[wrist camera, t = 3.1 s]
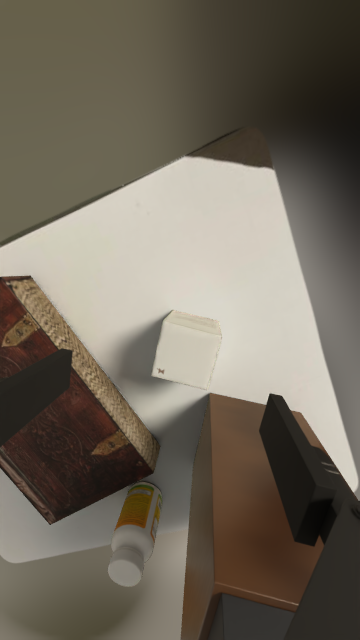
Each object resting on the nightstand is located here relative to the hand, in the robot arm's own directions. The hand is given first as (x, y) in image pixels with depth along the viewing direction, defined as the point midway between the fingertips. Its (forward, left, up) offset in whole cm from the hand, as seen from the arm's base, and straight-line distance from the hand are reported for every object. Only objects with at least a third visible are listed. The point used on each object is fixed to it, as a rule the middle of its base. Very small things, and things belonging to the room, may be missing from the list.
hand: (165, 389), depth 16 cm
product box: (-1, +1, -16) cm, 16 cm away
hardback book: (+17, +14, -16) cm, 27 cm away
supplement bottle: (+1, +27, -16) cm, 31 cm away
